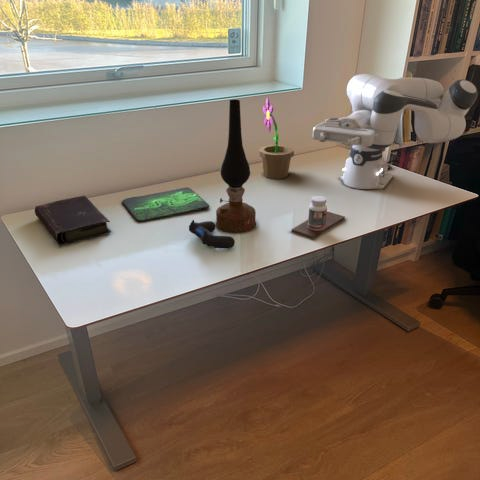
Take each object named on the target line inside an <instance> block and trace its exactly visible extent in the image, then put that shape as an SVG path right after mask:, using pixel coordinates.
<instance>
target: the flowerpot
mask: <svg viewBox="0 0 480 480" xmlns="http://www.w3.org/2000/svg"><path fill="white" fill-rule="evenodd" d="M262 112H263V114H264V115H266V116H264V119H263V126H266V127H267V131H268V133H271V129H272V126H271V125H274V131H275V136H274V137H273V140H274V141H275V144H266V145H262V146H261V147H259V148H258V155H259V157H260V158H261V162H262V171H263V172H262V173H263V176H264V177H266V178H267V179H268V178H269V179H274V180H275V179H279V180H280V179H285V178H286V177H288V176H289V172H290V165H291V160H292V158H293V157H294V156H295V149H294V148H293V147H292V146H289V145H285V144H279V130H278V123H277V122H276V119H275V117H274V116H273V112H274V105H273V104H270V99H269V97H266V100H265V105H264V106H262Z"/></svg>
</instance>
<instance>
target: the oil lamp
mask: <svg viewBox="0 0 480 480" xmlns="http://www.w3.org/2000/svg"><path fill="white" fill-rule="evenodd" d="M228 110H229V111H228V113H229V114H228V136H227V137H228V138H227V146H226V150H225V154H224V157H223V161H222V163H221V166H220V176H221V179H222V180H223V182H224V183H225V184H227V185H228V187H227V188H226V189H225V190H226V193H227V196H228V200H225V202H226V203H224V204H222V205H220V206H218V207H217V208H216V209H215V215H216V216H215V218H216V222H215V226H216V227H215V228H216V229H218V230H219V231H220V232H223V233H226V234H227V233H228V234H245V233H248V232H252V231H253V230H254V229H256V227H257V222H256V209H255V207H253V205H250V204H248V203H246V202H243V201H244V200H243V196H244V194H245V191H246V189H245V188H244V187H243V185H244V184H245V183H247V181H248V180H249V179H250V176H251V170H250V169H251V168H250V164H249V162H248V159H247V157H246V156H247V155H246V153H245V149H244V146H243V145H244V144H243V136H242V119H241V100H240V99H230V100H229V109H228ZM222 202H224V199H223V198H222V197H220V198H219V203H220V204H221V203H222Z"/></svg>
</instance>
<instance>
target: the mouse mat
mask: <svg viewBox="0 0 480 480" xmlns="http://www.w3.org/2000/svg"><path fill="white" fill-rule="evenodd" d="M121 202H122V204H123V205H124V206H125V208H126V209H127V210H128V212H129V213H130V215H131V216H132V217H133V218H134V220H135V221H136V222H140V223H141V222H142V223H143V222H147V221H150V220H157V219H162V218H167V217H171V216H178V215H181V214H186V213H190V212H194V211H198V210H199V211H200V210H204V209H208V208H209V207H210V204H209V203H207V202H206V201H205V200H204V199H203V198H202V197H201V196H200V195H198V194H197V193H196V191H194V190H193V189H192V188H190V187H181V188H177V189H172V190H168V191H162V192H161V191H160V192H156V193H150V194H146V195H139V196H132V197H127V198H124V199H123V200H122V201H121Z"/></svg>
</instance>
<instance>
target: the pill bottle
mask: <svg viewBox="0 0 480 480" xmlns="http://www.w3.org/2000/svg"><path fill="white" fill-rule="evenodd" d="M310 202H311V203H310V204H309V206H308V219H307V220H308V228H309V229H311V230H315V231H320V230H323V229H324V228H325V224H326V213H327V212H328V206H327V198H326V197H325V196H322V195H315V196H312V197H311V201H310Z"/></svg>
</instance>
